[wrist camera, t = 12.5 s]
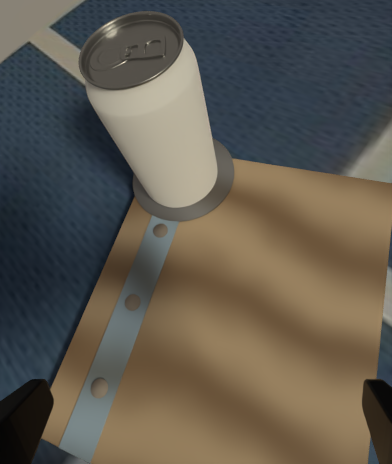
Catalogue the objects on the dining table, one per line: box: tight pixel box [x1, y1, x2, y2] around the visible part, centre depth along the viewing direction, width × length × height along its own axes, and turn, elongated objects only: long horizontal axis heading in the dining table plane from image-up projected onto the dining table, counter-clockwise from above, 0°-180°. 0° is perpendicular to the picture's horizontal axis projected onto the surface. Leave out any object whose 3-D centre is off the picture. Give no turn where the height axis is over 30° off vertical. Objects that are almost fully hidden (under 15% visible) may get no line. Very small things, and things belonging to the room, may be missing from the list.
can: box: [79, 11, 218, 208], centre depth 21 cm, size 6×6×12 cm
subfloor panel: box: [41, 138, 392, 464], centre depth 23 cm, size 26×21×1 cm
